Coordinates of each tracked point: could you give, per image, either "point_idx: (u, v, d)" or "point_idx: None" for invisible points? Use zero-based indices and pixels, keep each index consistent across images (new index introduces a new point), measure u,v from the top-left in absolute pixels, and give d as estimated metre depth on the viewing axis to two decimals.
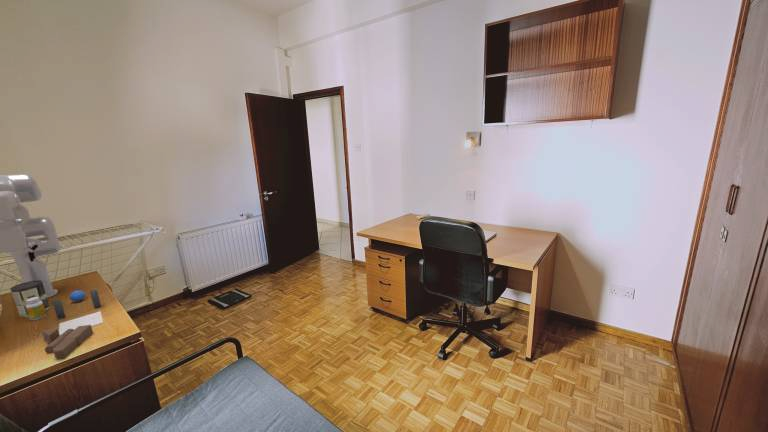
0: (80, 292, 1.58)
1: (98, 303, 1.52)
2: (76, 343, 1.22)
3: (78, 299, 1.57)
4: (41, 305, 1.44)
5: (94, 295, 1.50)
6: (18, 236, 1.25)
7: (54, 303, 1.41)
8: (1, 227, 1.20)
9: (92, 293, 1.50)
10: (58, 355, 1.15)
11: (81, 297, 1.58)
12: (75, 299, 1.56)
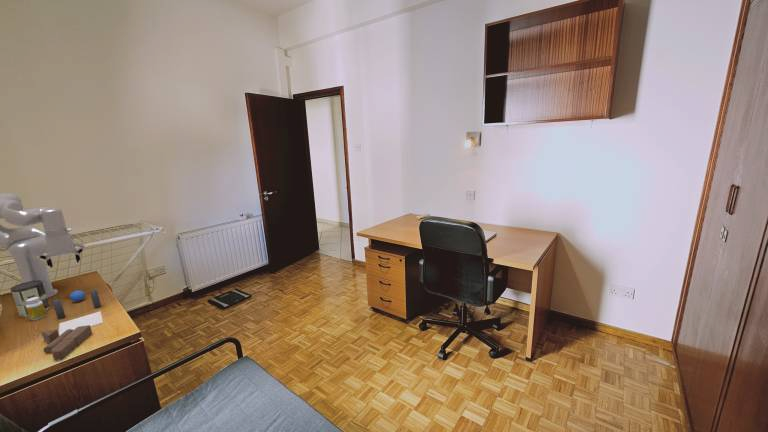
0: (80, 292, 1.58)
1: (98, 303, 1.52)
2: (75, 344, 1.22)
3: (78, 299, 1.57)
4: (41, 305, 1.44)
5: (94, 295, 1.50)
6: (68, 242, 1.56)
7: (54, 303, 1.41)
8: (56, 235, 1.52)
9: (92, 293, 1.50)
10: (56, 355, 1.14)
11: (81, 297, 1.58)
12: (75, 299, 1.56)
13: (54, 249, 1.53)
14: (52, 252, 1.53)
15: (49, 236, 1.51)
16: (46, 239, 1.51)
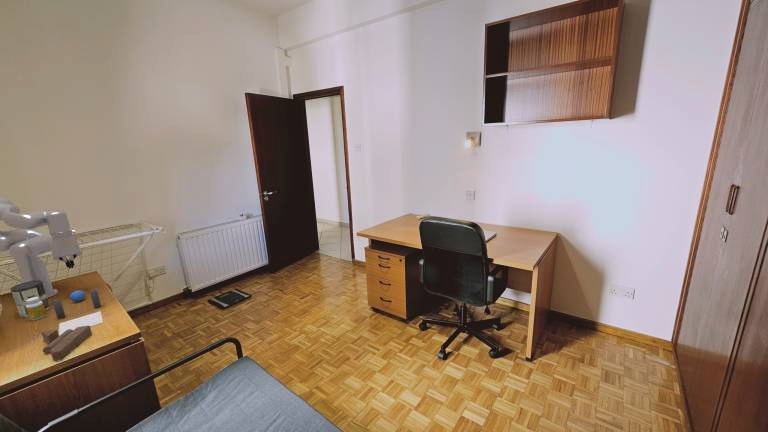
0: (80, 292, 1.58)
1: (98, 303, 1.52)
2: (74, 344, 1.22)
3: (78, 299, 1.57)
4: (41, 305, 1.44)
5: (94, 295, 1.50)
6: (73, 244, 1.60)
7: (54, 303, 1.41)
8: (62, 237, 1.55)
9: (92, 293, 1.50)
10: (55, 356, 1.14)
11: (81, 297, 1.58)
12: (75, 299, 1.56)
13: (60, 251, 1.56)
14: (58, 254, 1.56)
15: (54, 238, 1.54)
16: (52, 241, 1.54)
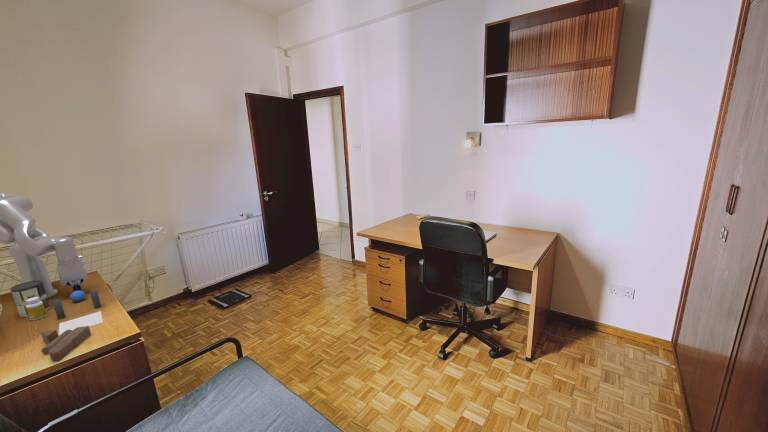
0: (80, 292, 1.58)
1: (98, 303, 1.52)
2: (73, 345, 1.21)
3: (78, 299, 1.57)
4: (41, 305, 1.44)
5: (94, 295, 1.50)
6: (80, 269, 1.63)
7: (54, 303, 1.41)
8: (69, 263, 1.59)
9: (92, 293, 1.50)
10: (53, 357, 1.14)
11: (81, 297, 1.58)
12: (75, 299, 1.56)
13: (67, 276, 1.60)
14: (65, 279, 1.60)
15: (62, 264, 1.58)
16: (59, 267, 1.58)
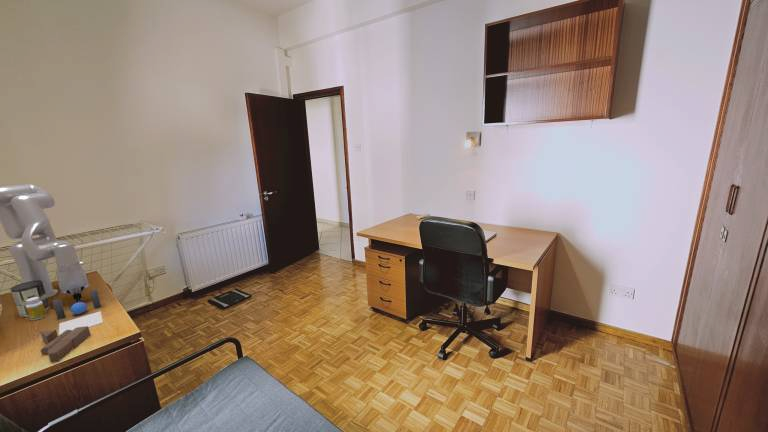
0: (81, 303, 1.46)
1: (98, 303, 1.52)
2: (72, 345, 1.21)
3: (79, 311, 1.45)
4: (41, 305, 1.44)
5: (94, 295, 1.50)
6: (81, 276, 1.55)
7: (54, 303, 1.41)
8: (69, 270, 1.50)
9: (92, 293, 1.50)
10: (52, 357, 1.14)
11: (82, 309, 1.46)
12: (76, 311, 1.44)
13: (67, 284, 1.51)
14: (65, 287, 1.51)
15: (62, 271, 1.49)
16: (59, 274, 1.49)
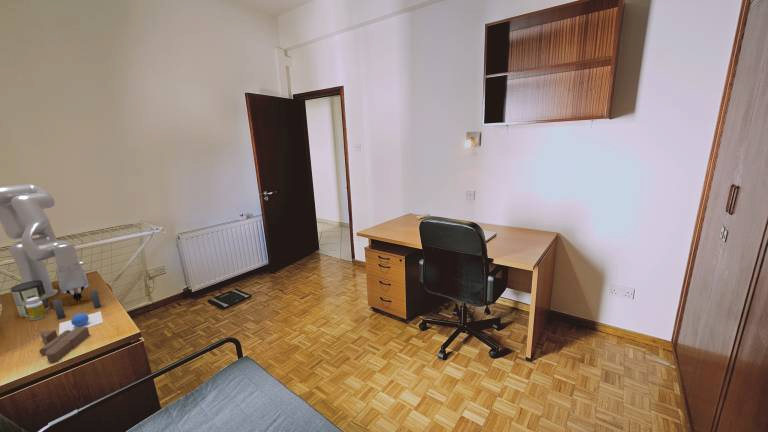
0: None
1: (98, 303, 1.52)
2: (70, 346, 1.20)
3: (79, 317, 1.35)
4: (41, 305, 1.44)
5: (94, 295, 1.50)
6: (81, 276, 1.55)
7: (54, 303, 1.41)
8: (69, 270, 1.50)
9: (92, 293, 1.50)
10: (50, 358, 1.13)
11: (83, 315, 1.36)
12: (76, 317, 1.34)
13: (67, 284, 1.51)
14: (65, 287, 1.51)
15: (62, 271, 1.49)
16: (59, 274, 1.49)
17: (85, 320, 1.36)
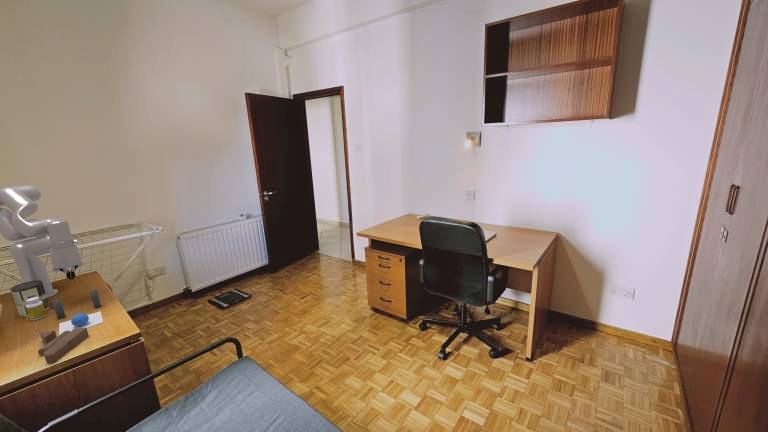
0: None
1: (98, 303, 1.52)
2: (68, 347, 1.20)
3: (79, 317, 1.35)
4: (41, 305, 1.44)
5: (94, 295, 1.50)
6: (74, 254, 1.52)
7: (54, 303, 1.41)
8: (63, 247, 1.47)
9: (92, 293, 1.50)
10: (47, 359, 1.13)
11: (83, 315, 1.36)
12: (76, 318, 1.34)
13: (60, 262, 1.49)
14: (58, 265, 1.48)
15: (55, 249, 1.46)
16: (52, 252, 1.46)
17: (85, 320, 1.36)
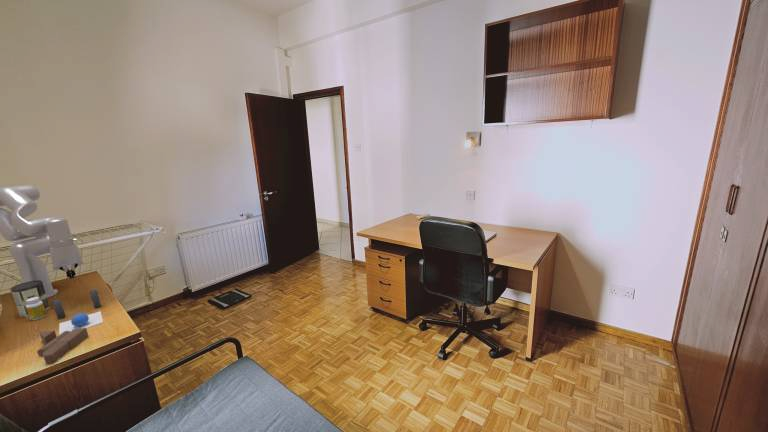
0: None
1: (98, 303, 1.52)
2: (68, 347, 1.20)
3: (79, 317, 1.35)
4: (41, 305, 1.44)
5: (94, 295, 1.50)
6: (74, 253, 1.52)
7: (54, 303, 1.41)
8: (62, 245, 1.47)
9: (92, 293, 1.50)
10: (46, 359, 1.12)
11: (83, 315, 1.36)
12: (76, 318, 1.34)
13: (60, 260, 1.48)
14: (58, 263, 1.48)
15: (55, 247, 1.46)
16: (52, 250, 1.46)
17: (85, 320, 1.36)
